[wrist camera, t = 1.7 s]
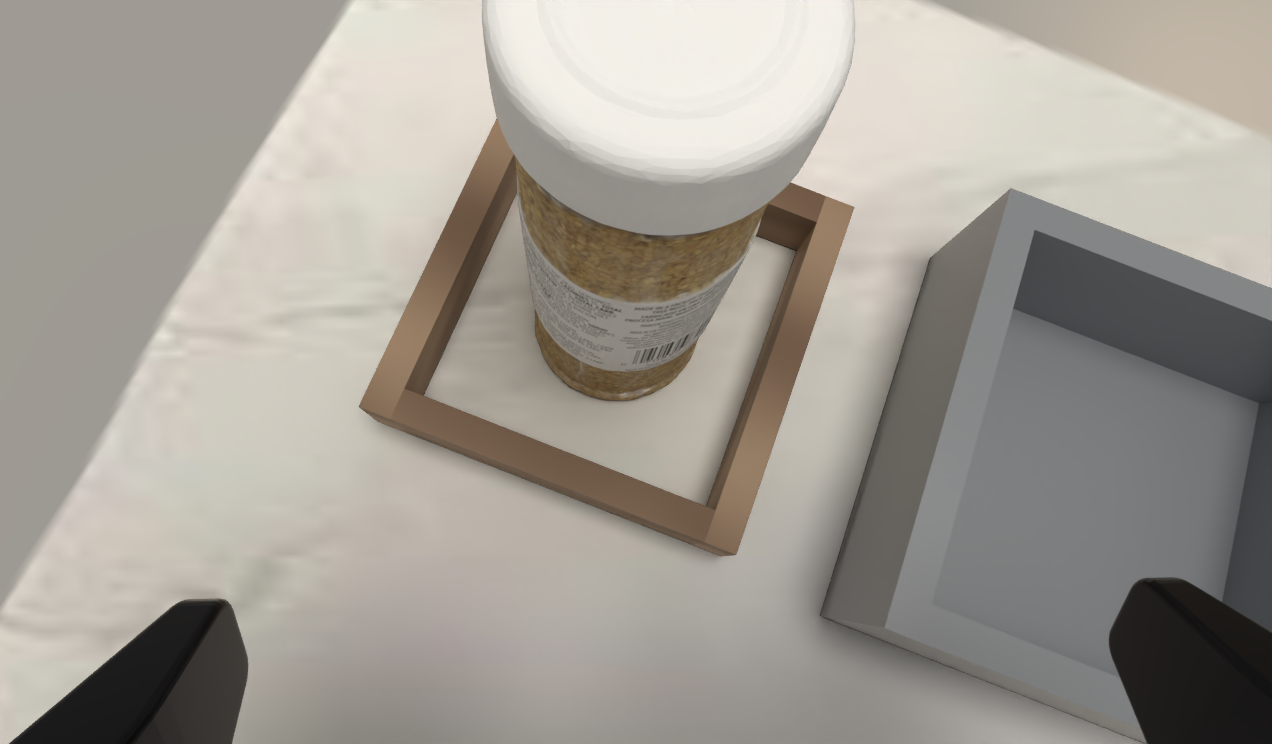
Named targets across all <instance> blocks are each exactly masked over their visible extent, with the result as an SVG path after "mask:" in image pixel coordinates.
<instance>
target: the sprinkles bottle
mask: <svg viewBox="0 0 1272 744" xmlns="http://www.w3.org/2000/svg"><path fill="white" fill-rule="evenodd" d="M482 24H483V34H484V44H485V52H486V61H487V68H488V74H489V81H490V87H491V93H492V98H493V103H494V108H495V112H496V117H497V119H498V122H499V125H500V127H501V130H502V133H503V135H504V137H505V139H506V141H507V143H508V145H509V147H510V149H511V150H512V152H513V154H514V155H515V162H516V169H517V198H518V205H519V213H520V219H521V226H522V233H523V239H524V245H525V252H526V258H527V265H528V272H529V279H530V286H531V292H532V298H533V302H534V305H535V334H536V338H537V341H538V343H539V345H540V347H541V351H542V354H543V356H544V358H545V359H546V361H547V363H548V364H549V366H550V367H551V369H552V370H553V372H555V373H556V374H557V375H558V376H559V377H560V378H561V379H562V380H563V381H564V382H565V383H567V384H568V385H569V386H570V387H571V388H574V389H577V390H579V391H581V392H583V393H584V394H587V395H589V396H593V397H597V398H601V399H606V400H632V399H636V398H639V397H641V396H644V395H648V394H651V393H653V392H655V391H656V390H658V389H659V388H662V387H664V386H666V385H668V384H669V383H670V382H671V381H672V380H674V379H675V378H676V377H677V375H678V374H679V373H680V372H681V371H682V370H683V368H684V367H685V366H686V365H687V363H688V362H689V360H690V358H691V356H692V354H693V351H694V348H695V346H696V343H697V340H698V338H699V336H700V335H701V334H702V332H703V331H704V329H705V328H706V326H707V325H708V323H709V321H710V319H711V317H712V316H713V314H714V312H715V310H716V308H717V307H718V305H719V303H720V301H721V300H722V298H723V296H724V294H725V293H726V291H727V289H728V287H729V285H730V284H731V282H732V280H733V278H734V276H735V275H736V273H737V271H738V269H739V267H740V265H741V264H742V262H743V260H744V258H745V256H746V254H747V253H748V251H749V249H750V247H751V245H752V243H753V241H754V238H755V236H756V234H757V232H758V228H759V225H760V221H761V218H762V215H763V213H764V211H765V209H766V207H767V205H768V204H769V202H770V201H771V200H772V199H773V198H774V197H775V196H777V195H778V194H779V193H780V192H781V191H782V190H783V189H784V188H785V187H787V186H788V184H789V183H790V182H791V181H792V180H793V178H794V177H795V176H796V175H797V174H798V172H799V171H800V169H801V167H802V166H803V164H804V163H805V161H806V160H807V158H808V156H809V154H810V152H811V151H812V149H813V147H814V145H815V143H816V142H817V140H818V138H819V136H820V134H821V132H822V131H823V129H824V127H825V125H826V123H827V120H828V118H829V116H830V114H831V112H832V110H833V108H834V106H835V104H836V102H837V100H838V98H839V96H840V93H841V91H842V89H843V87H844V85H845V82H846V79H847V76H848V73H849V70H850V67H851V63H852V56H853V49H854V42H855V12H854V3H853V0H482Z"/></svg>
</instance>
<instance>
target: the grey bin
mask: <svg viewBox="0 0 1272 744" xmlns="http://www.w3.org/2000/svg"><path fill="white" fill-rule="evenodd" d="M1162 577H1175V578H1181V579H1183V580H1186V581H1188V582H1190V583H1191V584H1193V585H1195V586H1196V587H1198V588H1200V589H1201V590H1203V591H1205V592H1206V593H1208V594H1210V595H1211V596H1213V597H1215V598H1216V599H1218V600H1219V601H1221V602H1223V603H1224V604H1226V605H1228V606H1229V607H1231V608H1233V609H1234V610H1236V611H1238V612H1239V613H1241V614H1243V615H1244V616H1246V617H1247V618H1249V619H1251V620H1252V621H1254V622H1256V623H1257V624H1259V625H1261V626H1262V627H1264V628H1266V629H1267V630H1269V631H1270V632H1272V288H1269V287H1267V286H1264V285H1262V284H1259V283H1256V282H1254V281H1251V280H1249V279H1246V278H1243V277H1241V276H1238V275H1236V274H1233V273H1230V272H1228V271H1225V270H1223V269H1220V268H1217V267H1215V266H1212V265H1210V264H1207V263H1204V262H1202V261H1199V260H1197V259H1194V258H1191V257H1189V256H1186V255H1183V254H1181V253H1178V252H1176V251H1173V250H1170V249H1168V248H1165V247H1163V246H1160V245H1157V244H1155V243H1152V242H1150V241H1147V240H1144V239H1142V238H1139V237H1137V236H1134V235H1131V234H1129V233H1126V232H1124V231H1121V230H1118V229H1116V228H1113V227H1111V226H1108V225H1105V224H1103V223H1100V222H1098V221H1095V220H1092V219H1090V218H1087V217H1084V216H1082V215H1079V214H1077V213H1074V212H1071V211H1069V210H1066V209H1064V208H1061V207H1058V206H1056V205H1053V204H1051V203H1048V202H1045V201H1043V200H1040V199H1038V198H1035V197H1032V196H1030V195H1027V194H1025V193H1022V192H1019V191H1017V190H1014V189H1012V188H1011V189H1009V190H1008V191H1007V192H1006V193H1005V194H1004V195H1003V196H1001V197H1000V198H999V199H998V200H997V201H996V202H994V203H993V204H992V205H991V206H990V207H989V208H988V209H986V210H985V211H984V212H983V213H982V214H981V215H979V216H978V217H977V218H976V219H975V220H974V221H973V222H971V223H970V224H969V225H968V226H967V227H966V228H964V229H963V230H962V231H961V232H960V233H959V234H958V235H956V236H955V237H954V238H953V239H952V240H951V241H949V242H948V243H947V244H946V245H945V246H944V247H942V248H941V249H940V250H939V251H938V252H937V253H936V254H934V255H933V256H932V257H931V258H930V260H929V264H928V267H927V270H926V273H925V277H924V280H923V283H922V286H921V290H920V293H919V296H918V299H917V303H916V306H915V309H914V312H913V316H912V319H911V322H910V325H909V328H908V332H907V335H906V338H905V341H904V345H903V348H902V351H901V354H900V358H899V361H898V364H897V367H896V371H895V374H894V377H893V380H892V384H891V387H890V390H889V393H888V397H887V400H886V403H885V406H884V410H883V413H882V416H881V419H880V423H879V426H878V429H877V432H876V436H875V439H874V442H873V445H872V448H871V452H870V455H869V458H868V461H867V465H866V468H865V471H864V474H863V478H862V481H861V484H860V487H859V491H858V494H857V497H856V500H855V504H854V507H853V510H852V513H851V517H850V520H849V523H848V526H847V530H846V533H845V536H844V539H843V543H842V546H841V549H840V552H839V555H838V559H837V562H836V565H835V568H834V572H833V575H832V578H831V581H830V585H829V588H828V591H827V594H826V598H825V601H824V604H823V607H822V611H821V614H820V616H821V617H824V618H826V619H829V620H832V621H834V622H837V623H839V624H842V625H844V626H847V627H849V628H852V629H854V630H857V631H860V632H862V633H865V634H867V635H870V636H872V637H875V638H877V639H880V640H882V641H885V642H888V643H890V644H893V645H895V646H898V647H900V648H903V649H905V650H908V651H911V652H913V653H916V654H918V655H921V656H923V657H926V658H928V659H931V660H933V661H936V662H939V663H941V664H944V665H946V666H949V667H951V668H954V669H956V670H959V671H961V672H964V673H967V674H969V675H972V676H974V677H977V678H979V679H982V680H984V681H987V682H989V683H992V684H995V685H997V686H1000V687H1002V688H1005V689H1007V690H1010V691H1012V692H1015V693H1017V694H1020V695H1023V696H1025V697H1028V698H1030V699H1033V700H1035V701H1038V702H1040V703H1043V704H1046V705H1048V706H1051V707H1053V708H1056V709H1058V710H1061V711H1063V712H1066V713H1068V714H1071V715H1074V716H1076V717H1079V718H1081V719H1084V720H1086V721H1089V722H1091V723H1094V724H1096V725H1099V726H1102V727H1104V728H1107V729H1109V730H1112V731H1114V732H1117V733H1119V734H1122V735H1124V736H1127V737H1130V738H1132V739H1135V740H1137V741H1140V742H1142V743H1145V744H1147V743H1146V741H1145V738H1144V736H1143V733H1142V731H1141V728H1140V726H1139V723H1138V721H1137V718H1136V716H1135V714H1134V711H1133V709H1132V706H1131V704H1130V701H1129V699H1128V696H1127V694H1126V692H1125V689H1124V687H1123V684H1122V682H1121V679H1120V677H1119V674H1118V672H1117V670H1116V667H1115V665H1114V662H1113V660H1112V657H1111V654H1110V649H1109V639H1108V638H1109V632H1110V629H1111V627H1112V625H1113V623H1114V621H1115V619H1116V617H1117V615H1118V613H1119V611H1120V609H1121V607H1122V605H1123V603H1124V601H1125V599H1126V597H1127V595H1128V593H1129V591H1130V589H1131V587H1132V586H1133V584H1134V583H1135V582H1137V581H1138V580H1140V579H1143V578H1162Z"/></svg>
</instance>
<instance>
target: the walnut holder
mask: <svg viewBox="0 0 1272 744" xmlns="http://www.w3.org/2000/svg"><path fill="white" fill-rule="evenodd" d="M516 193H517V169H516V162H515V155H514V154H513V152H512V150H511V149H510V147H509V145H508V143H507V141H506V139H505V137H504V135H503V133H502V130H501V127H500V125H499V122H498V119H496V121H495V123H494V125H493V127H492V129H491V132H490V134H489V136H488V138H487V140H486V142H485V144H484V146H483V148H482V150H481V152H480V154H479V157H478V159H477V161H476V163H475V165H474V167H473V169H472V171H471V173H470V175H469V177H468V180H467V182H466V184H465V186H464V188H463V190H462V192H461V194H460V196H459V198H458V200H457V202H456V205H455V207H454V209H453V211H452V213H451V215H450V217H449V219H448V221H447V223H446V225H445V228H444V230H443V232H442V234H441V236H440V238H439V240H438V242H437V244H436V246H435V248H434V250H433V253H432V255H431V257H430V259H429V261H428V263H427V265H426V267H425V269H424V271H423V273H422V276H421V278H420V280H419V282H418V284H417V286H416V288H415V290H414V292H413V294H412V296H411V298H410V301H409V303H408V305H407V307H406V309H405V311H404V313H403V315H402V317H401V319H400V321H399V324H398V326H397V328H396V330H395V332H394V334H393V336H392V338H391V340H390V342H389V344H388V346H387V349H386V351H385V353H384V355H383V357H382V359H381V361H380V363H379V365H378V367H377V369H376V372H375V374H374V376H373V378H372V380H371V382H370V384H369V386H368V388H367V390H366V392H365V394H364V397H363V399H362V401H361V403H360V405H359V407H360V408H361V409H362V410H364V411H365V412H366V413H367V414H369V415H370V416H371V417H373V418H374V419H375V420H377V421H378V422H381V423H383V424H386V425H388V426H391V427H393V428H396V429H398V430H401V431H404V432H406V433H409V434H411V435H414V436H416V437H419V438H421V439H424V440H426V441H429V442H432V443H434V444H437V445H439V446H442V447H444V448H447V449H449V450H452V451H455V452H457V453H460V454H462V455H465V456H467V457H470V458H472V459H475V460H477V461H480V462H483V463H485V464H488V465H490V466H493V467H495V468H498V469H500V470H503V471H506V472H508V473H511V474H513V475H516V476H518V477H521V478H523V479H526V480H528V481H531V482H534V483H536V484H539V485H541V486H544V487H546V488H549V489H551V490H554V491H556V492H559V493H562V494H564V495H567V496H569V497H572V498H574V499H577V500H579V501H582V502H585V503H587V504H590V505H592V506H595V507H597V508H600V509H602V510H605V511H607V512H610V513H613V514H615V515H618V516H620V517H623V518H625V519H628V520H630V521H633V522H636V523H638V524H641V525H643V526H646V527H648V528H651V529H653V530H656V531H658V532H661V533H664V534H666V535H669V536H671V537H674V538H676V539H679V540H681V541H684V542H687V543H689V544H692V545H694V546H697V547H699V548H702V549H704V550H707V551H709V552H712V553H715V554H717V555H720V556H728V555H736V554H737V551H738V548H739V545H740V542H741V539H742V536H743V533H744V530H745V527H746V524H747V521H748V518H749V515H750V513H751V510H752V507H753V504H754V501H755V498H756V495H757V492H758V489H759V486H760V483H761V480H762V477H763V474H764V471H765V468H766V466H767V463H768V460H769V457H770V454H771V451H772V448H773V445H774V442H775V439H776V436H777V433H778V430H779V427H780V424H781V421H782V418H783V416H784V413H785V410H786V407H787V404H788V401H789V398H790V395H791V392H792V389H793V386H794V383H795V380H796V377H797V374H798V371H799V369H800V366H801V363H802V360H803V357H804V354H805V351H806V348H807V345H808V342H809V339H810V336H811V333H812V330H813V327H814V324H815V321H816V319H817V316H818V313H819V310H820V307H821V304H822V301H823V298H824V295H825V292H826V289H827V286H828V283H829V280H830V277H831V274H832V271H833V269H834V266H835V263H836V260H837V257H838V254H839V251H840V248H841V245H842V242H843V239H844V236H845V233H846V230H847V227H848V224H849V222H850V219H851V216H852V213H853V210H854V207H852V206H850V205H847V204H845V203H842V202H839V201H837V200H834V199H832V198H829V197H826V196H824V195H821V194H819V193H816V192H814V191H811V190H808V189H806V188H803V187H801V186H798V185H795V184H793V183H789V184H788V186H787V187H785V188H784V189H783V190H782V191H781V192H780V193H779V194H778V195H777V196H775V197H774V198H773V199H772V200H771V201H770V202H769V204H768V205H767V207H766V209H765V211H764V213H763V215H762V218H761V221H760V225H759V228H758V232H757V234H756V235H757V236H759V237H762V238H765V239H767V240H770V241H772V242H775V243H777V244H780V245H783V246H785V247H788V248H790V249H793V250H796V254H795V257H794V260H793V263H792V265H791V268H790V271H789V274H788V277H787V280H786V282H785V285H784V288H783V291H782V294H781V296H780V299H779V302H778V305H777V308H776V311H775V313H774V316H773V319H772V322H771V325H770V327H769V330H768V333H767V336H766V339H765V342H764V344H763V347H762V350H761V353H760V356H759V358H758V361H757V364H756V367H755V370H754V373H753V375H752V378H751V381H750V384H749V387H748V389H747V392H746V395H745V398H744V401H743V404H742V406H741V409H740V412H739V415H738V418H737V420H736V423H735V426H734V429H733V432H732V435H731V437H730V440H729V443H728V446H727V449H726V451H725V454H724V457H723V460H722V463H721V466H720V468H719V471H718V474H717V477H716V480H715V482H714V485H713V488H712V491H711V494H710V497H709V499H708V502H707V505H706V506H703V505H701V504H698V503H696V502H693V501H690V500H688V499H685V498H683V497H680V496H678V495H675V494H673V493H670V492H668V491H665V490H662V489H660V488H657V487H655V486H652V485H650V484H647V483H645V482H642V481H639V480H637V479H634V478H632V477H629V476H627V475H624V474H622V473H619V472H616V471H614V470H611V469H609V468H606V467H604V466H601V465H599V464H596V463H593V462H591V461H588V460H586V459H583V458H581V457H578V456H576V455H573V454H570V453H568V452H565V451H563V450H560V449H558V448H555V447H553V446H550V445H547V444H545V443H542V442H540V441H537V440H535V439H532V438H530V437H527V436H524V435H522V434H519V433H517V432H514V431H512V430H509V429H507V428H504V427H501V426H499V425H496V424H494V423H491V422H489V421H486V420H484V419H481V418H478V417H476V416H473V415H471V414H468V413H466V412H463V411H461V410H458V409H455V408H453V407H450V406H448V405H445V404H443V403H440V402H438V401H435V400H432V399H430V398H427V397H425V396H423V395H424V393H425V391H426V389H427V386H428V384H429V382H430V380H431V378H432V375H433V373H434V371H435V369H436V367H437V365H438V362H439V360H440V358H441V356H442V354H443V352H444V349H445V347H446V345H447V343H448V341H449V339H450V336H451V334H452V332H453V330H454V328H455V325H456V323H457V321H458V319H459V317H460V315H461V312H462V310H463V308H464V306H465V304H466V302H467V299H468V297H469V295H470V293H471V291H472V289H473V286H474V284H475V282H476V280H477V278H478V275H479V273H480V271H481V269H482V267H483V265H484V262H485V260H486V258H487V256H488V254H489V252H490V249H491V247H492V245H493V243H494V241H495V238H496V236H497V234H498V232H499V230H500V228H501V225H502V223H503V221H504V219H505V217H506V215H507V212H508V210H509V208H510V206H511V204H512V202H513V199H514V197H515V195H516Z"/></svg>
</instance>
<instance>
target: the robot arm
mask: <svg viewBox="0 0 1272 744" xmlns="http://www.w3.org/2000/svg"><path fill="white" fill-rule="evenodd" d="M1108 639H1109V649H1110V654H1111V657H1112V660H1113V662H1114V665H1115V667H1116V670H1117V672H1118V674H1119V677H1120V679H1121V682H1122V684H1123V687H1124V689H1125V692H1126V694H1127V696H1128V699H1129V701H1130V704H1131V706H1132V709H1133V711H1134V714H1135V716H1136V718H1137V721H1138V723H1139V726H1140V728H1141V731H1142V733H1143V736H1144V738H1145V741H1146V743H1147V744H1272V632H1270V631H1269V630H1267V629H1266V628H1264V627H1262V626H1261V625H1259V624H1257V623H1256V622H1254V621H1252V620H1251V619H1249V618H1247V617H1246V616H1244V615H1243V614H1241V613H1239V612H1238V611H1236V610H1234V609H1233V608H1231V607H1229V606H1228V605H1226V604H1224V603H1223V602H1221V601H1219V600H1218V599H1216V598H1215V597H1213V596H1211V595H1210V594H1208V593H1206V592H1205V591H1203V590H1201V589H1200V588H1198V587H1196V586H1195V585H1193V584H1191V583H1190V582H1188V581H1186V580H1183V579H1181V578H1175V577H1162V578H1143V579H1140V580H1138V581H1137V582H1135V583H1134V584H1133V586H1132V587H1131V589H1130V591H1129V593H1128V595H1127V597H1126V599H1125V601H1124V603H1123V605H1122V607H1121V609H1120V611H1119V613H1118V615H1117V617H1116V619H1115V621H1114V623H1113V625H1112V627H1111V629H1110V632H1109V638H1108ZM247 676H248V657H247V653H246V650H245V646H244V643H243V640H242V637H241V633H240V630H239V627H238V624H237V620H236V617H235V614H234V611H233V608H232V606H231V605H230V603H229V602H228V601H226V600H223V599H188V600H183V601H181V602H179V603H177V604H175V605H174V606H172V607H171V608H170V609H169V610H167V611H166V612H165V613H164V614H163V615H161V616H160V617H159V618H158V619H157V620H156V621H154V622H153V623H152V624H151V625H150V626H148V627H147V628H146V629H145V630H144V631H142V632H141V633H140V634H139V635H138V636H137V637H135V638H134V639H133V640H132V641H131V642H129V643H128V644H127V645H126V646H125V647H123V648H122V649H121V650H120V651H119V652H117V653H116V654H115V655H114V656H113V657H112V658H110V659H109V660H108V661H107V662H106V663H104V664H103V665H102V666H101V667H100V668H98V669H97V670H96V671H95V672H94V673H93V674H91V675H90V676H89V677H88V678H87V679H85V680H84V681H83V682H82V683H81V684H79V685H78V686H77V687H76V688H75V689H73V690H72V691H71V692H70V693H69V694H68V695H66V696H65V697H64V698H63V699H62V700H60V701H59V702H58V703H57V704H56V705H54V706H53V707H52V708H51V709H50V710H49V711H47V712H46V713H45V714H44V715H43V716H41V717H40V718H39V719H38V720H37V721H35V722H34V723H33V724H32V725H31V726H29V727H28V728H27V729H26V730H25V731H24V732H22V733H21V734H20V735H19V736H18V737H16V738H15V739H14V740H13V741H12V742H10V743H9V744H232V741H233V737H234V733H235V728H236V724H237V720H238V716H239V712H240V707H241V703H242V699H243V695H244V691H245V687H246V682H247Z"/></svg>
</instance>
